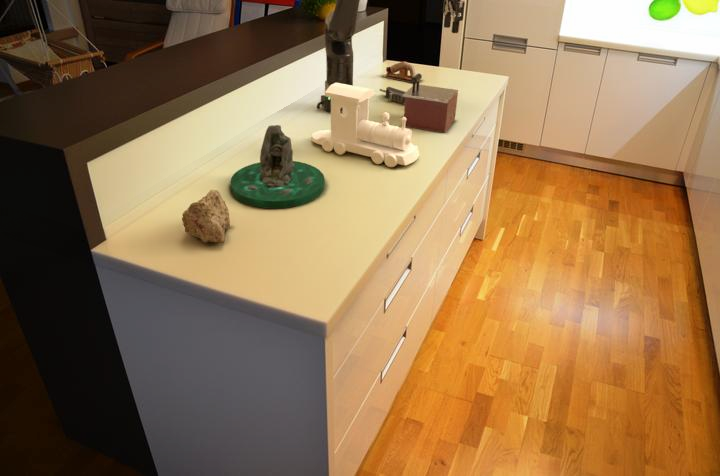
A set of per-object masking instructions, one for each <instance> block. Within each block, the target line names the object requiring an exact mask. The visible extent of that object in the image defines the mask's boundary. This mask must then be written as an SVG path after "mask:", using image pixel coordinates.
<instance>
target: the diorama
mask: <svg viewBox="0 0 720 476" xmlns="http://www.w3.org/2000/svg"><path fill="white" fill-rule="evenodd" d="M261 144H262V145H261V148H260V156H259V162H255V163H251V164H249V165H245V166H244V167H242V168H239V169H238V170H237V171H235V172H234V173H233V175H232V176H231V177H230V181H229V184H230V191H231V194H232V196H233V197H234V198H235V199H236V200H238V201H239V202H240V203H242V204H245V205H248V206H252V207H257V208H262V209H287V208H295V207H298V206H302V205H305V204H307V203H310V202H312V201H314V200H316V199H317V198H318V197H319V196H321V195H322V194H323V192H324V191H325V187H326V185H325V182H326V181H325V176H324V174H323V172H322V171H321V170H320V169H318V168H317V167H316V166H313V165H311V164H309V163H306V162H301V161H296V160H294V159H293V156H294V154H293V153H294V150H293V147H292V139H291V137H289V136H287V135H286V134H285V133H284V132H283V131H282V126H281V125H279V124H275V125H269V126H268V127H267V128H266V130H265V133H264V137H263V141H262V143H261Z"/></svg>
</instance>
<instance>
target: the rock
mask: <svg viewBox="0 0 720 476" xmlns="http://www.w3.org/2000/svg"><path fill="white" fill-rule="evenodd" d="M229 211H230V210H229V207H228V206H227V204H226V200H224V198H223V197H222V195H221V194H220V191H218V190H216V189H211V190H210V191H208V192H207V193H206V195H205V196H202V197H201V199H199V200H198V201H196V202H192V203H191V204H189V206H188V208H187V209H186V210H184V211H183V213H182V215H181V216H182V217H181V222H182V225H183V228H184V232H185V233H187V234H189V235H192V236H193V237H195V238H197V239H200V240H201V241H202V242H203V243H209V242H211V243H219V242H220V243H224V241H225V240H226V235H225V233H226V230H227V229H229V228H230V226H231V225H230V223H231V221H230V219H231V218H230V213H229Z"/></svg>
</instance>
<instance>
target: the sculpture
mask: <svg viewBox="0 0 720 476" xmlns="http://www.w3.org/2000/svg"><path fill="white" fill-rule="evenodd" d="M387 64H388V66H386V69H385V71H386V74H385V75H383V76H382V77H383V78H388V79H392V80H398V81H403V82H408V83H412V82H411V79H412V78H413V77H414V76H415V75H417V73H416V68H415V66H414V65H413V64H411V63H409V62H408V61H400V62H398V63H394V64H391V65H390V63H387ZM421 81H422V79H420V80H419V82H421ZM415 84H417V82H416V83H415Z"/></svg>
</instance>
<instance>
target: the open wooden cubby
mask: <svg viewBox="0 0 720 476" xmlns="http://www.w3.org/2000/svg"><path fill="white" fill-rule="evenodd" d="M458 95H459V92H458V93H457V94H456V95H455V96H454V97H453V98H452V99H451V100H450V101H449V102H448V103H443V102H436V101H430V100H423V99H416V98H409V97H405V104H404V111H403V113H404V114H403V117H406V119H407V120H406V124H405V127H406V128H407V127H408V128H413V129H420V130H425V131H431V132H437V133H443V134H445V133H446V132H447V131H448V130H449V128H450V127H451V126H452V125H453V124H454V122H455V121H456V113H457V105H458Z"/></svg>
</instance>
